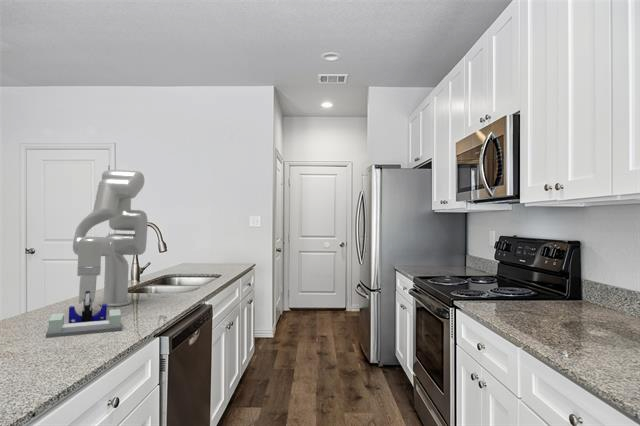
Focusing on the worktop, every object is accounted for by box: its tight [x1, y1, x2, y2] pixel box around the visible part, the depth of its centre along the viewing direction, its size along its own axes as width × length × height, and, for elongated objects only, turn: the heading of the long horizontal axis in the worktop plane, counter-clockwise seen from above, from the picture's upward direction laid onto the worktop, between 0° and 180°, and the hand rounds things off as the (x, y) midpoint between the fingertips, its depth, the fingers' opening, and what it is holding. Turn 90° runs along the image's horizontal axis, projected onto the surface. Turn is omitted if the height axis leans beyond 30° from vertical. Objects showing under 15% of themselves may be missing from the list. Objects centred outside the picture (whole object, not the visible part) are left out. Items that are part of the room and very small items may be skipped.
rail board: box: [45, 308, 123, 339], centre depth 139 cm, size 12×22×5 cm, turn 118°
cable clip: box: [68, 304, 108, 323], centre depth 149 cm, size 12×4×6 cm, turn 118°
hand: (86, 319), depth 149 cm, fingers closed on cable clip, 4 cm apart
